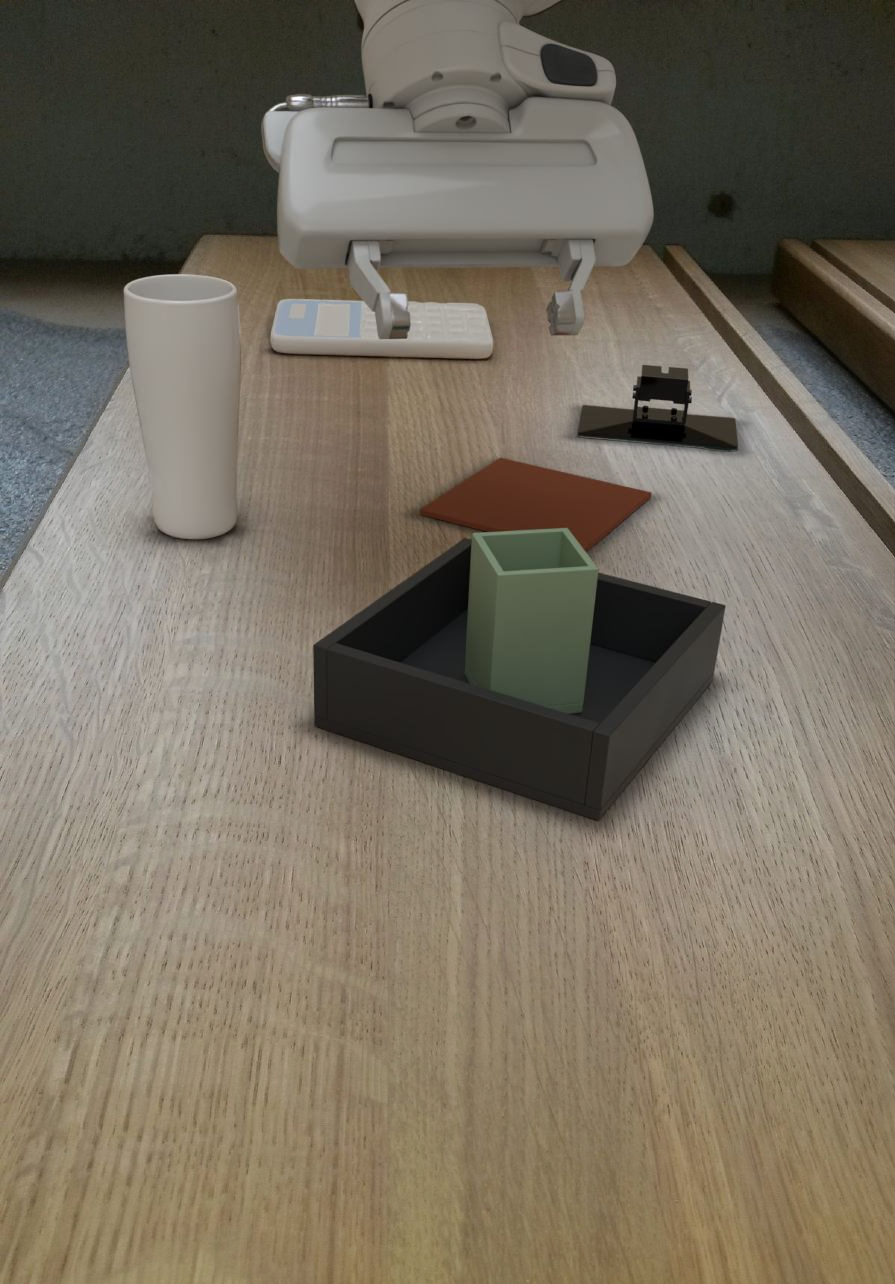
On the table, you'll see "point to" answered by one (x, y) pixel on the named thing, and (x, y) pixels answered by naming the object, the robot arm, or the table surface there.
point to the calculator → (356, 331)
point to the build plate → (660, 416)
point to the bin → (507, 726)
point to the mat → (536, 502)
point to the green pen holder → (531, 616)
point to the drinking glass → (187, 397)
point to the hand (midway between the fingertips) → (482, 332)
